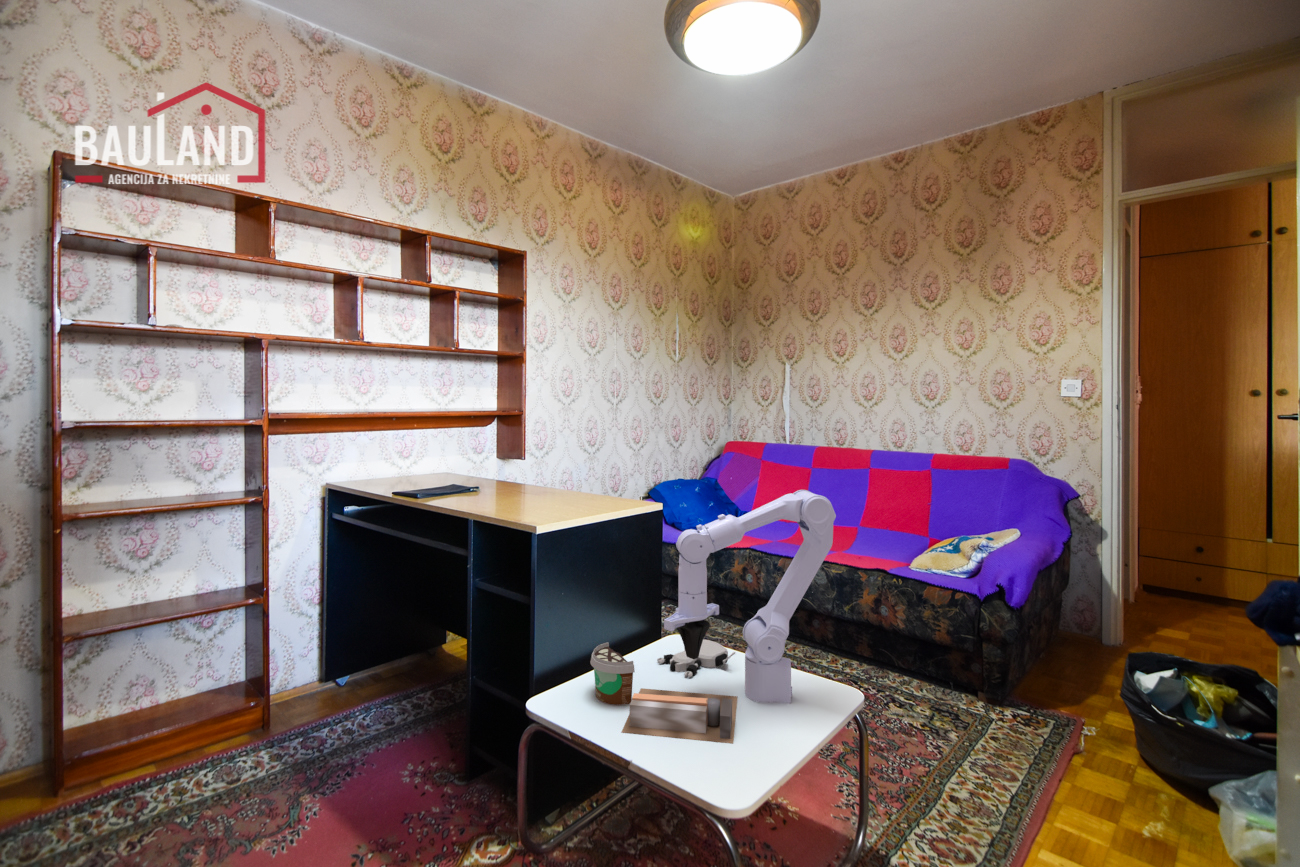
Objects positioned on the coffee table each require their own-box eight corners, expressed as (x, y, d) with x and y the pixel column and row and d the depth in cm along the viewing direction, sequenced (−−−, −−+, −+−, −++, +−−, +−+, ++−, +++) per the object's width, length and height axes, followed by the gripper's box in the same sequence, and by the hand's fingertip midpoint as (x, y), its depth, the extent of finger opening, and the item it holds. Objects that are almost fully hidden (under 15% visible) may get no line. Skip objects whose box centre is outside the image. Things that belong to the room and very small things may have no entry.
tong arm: (720, 719, 114) (720, 698, 114) (719, 726, 112) (719, 705, 112) (634, 713, 117) (634, 692, 117) (631, 719, 114) (631, 698, 114)
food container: (581, 693, 128) (580, 646, 128) (607, 687, 131) (607, 641, 131) (606, 719, 117) (606, 668, 117) (634, 712, 120) (634, 661, 120)
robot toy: (689, 690, 132) (738, 667, 141) (688, 670, 132) (737, 648, 141) (654, 671, 142) (701, 651, 151) (653, 652, 141) (700, 633, 150)
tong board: (737, 702, 124) (737, 677, 124) (733, 750, 107) (733, 720, 107) (640, 693, 128) (640, 669, 128) (621, 739, 110) (621, 710, 110)
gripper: (701, 579, 131) (700, 642, 132) (652, 593, 121) (652, 661, 122) (727, 586, 126) (726, 651, 127) (679, 601, 116) (679, 672, 117)
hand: (692, 657), depth 124 cm, fingers closed
